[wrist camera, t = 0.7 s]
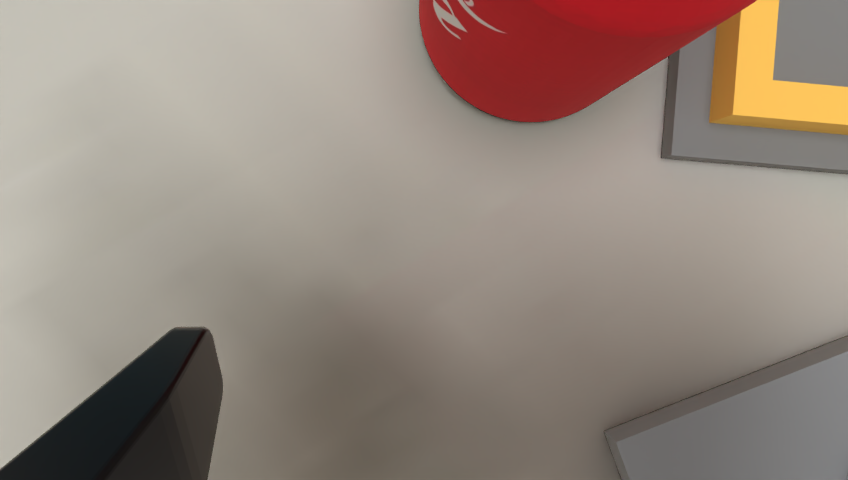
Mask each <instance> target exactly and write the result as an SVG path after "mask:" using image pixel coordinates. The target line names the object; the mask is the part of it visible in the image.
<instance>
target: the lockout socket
mask: <svg viewBox="0 0 848 480" xmlns="http://www.w3.org/2000/svg"><path fill="white" fill-rule="evenodd" d="M661 158H667V159H679V160H691V161H702V162H714V163H726V164H737V165H749V166H761V167H772V168H784V169H796V170H807V171H819V172H831V173H842V174H848V0H757V1H755V2H754V3H753V4H751V5H749V6H748V7H746V8H745V9H743V10H742V11H740V12H738V13H737V14H735V15H734V16H732V17H730V18H729V19H727V20H726V21H724V22H722V23H721V24H719V25H718V26H716V27H714V28H713V29H711V30H710V31H708V32H706V33H705V34H703V35H701V36H700V37H698V38H697V39H695V40H693V41H692V42H690V43H689V44H687V45H685V46H684V47H682V48H681V49H679V50H677V51H676V52H674V53H673V54H671V55H669V68H668V80H667V93H666V105H665V118H664V130H663V143H662V155H661Z"/></svg>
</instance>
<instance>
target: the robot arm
mask: <svg viewBox="0 0 848 480" xmlns="http://www.w3.org/2000/svg"><path fill="white" fill-rule="evenodd" d="M222 392H223V382H222V375H221V370H220V366H219V362H218V357H217V353H216V349H215V344H214V340H213V336H212V334H211V332H210V330H209V329H207V328H206V327H176V328H173V329H172V330H170V331H169V332H167V333H166V334H165V335H164V336H163V337H161V338H160V339H159V340H158V341H156V342H155V343H154V344H153V345H152V346H150V347H149V348H148V349H147V350H145V351H144V352H143V353H142V354H141V355H139V356H138V357H137V358H136V359H134V360H133V361H132V362H131V363H130V364H128V365H127V366H126V367H125V368H123V369H122V370H121V371H120V372H119V373H117V374H116V375H115V376H114V377H112V378H111V379H110V380H109V381H108V382H106V383H105V384H104V385H103V386H101V387H100V388H99V389H98V390H97V391H95V392H94V393H93V394H92V395H90V396H89V397H88V398H87V399H86V400H84V401H83V402H82V403H81V404H79V405H78V406H77V407H76V408H74V409H73V410H72V411H71V412H70V413H68V414H67V415H66V416H65V417H63V418H62V419H61V420H60V421H59V422H57V423H56V424H55V425H54V426H52V427H51V428H50V429H49V430H48V431H46V432H45V433H44V434H43V435H41V436H40V437H39V438H38V439H37V440H35V441H34V442H33V443H32V444H30V445H29V446H28V447H27V448H26V449H24V450H23V451H22V452H21V453H19V454H18V455H17V456H16V457H15V458H13V459H12V460H11V461H10V462H8V463H7V464H6V465H5V466H4V467H2V468H1V469H0V480H207V479H208V473H209V468H210V462H211V456H212V451H213V445H214V440H215V434H216V428H217V423H218V417H219V412H220V406H221V400H222Z"/></svg>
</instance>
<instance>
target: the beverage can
mask: <svg viewBox="0 0 848 480" xmlns="http://www.w3.org/2000/svg"><path fill="white" fill-rule="evenodd" d="M755 1H757V0H419V18H420V26H421V31H422V36H423V40H424V43H425V46H426V49H427V51H428V54H429V56H430V58H431V60H432V62H433V64H434V66H435V68H436V69H437V71H438V72H439V74H440V75H441V76H442V78H443V79H444V80H445V81H446V83H447V84H448V85H449V86H450V87H451V88H452V89H453V90H454V91H455V92H456V93H457V94H458V95H459V96H461V97H462V98H463V99H464V100H466V101H467V102H469V103H470V104H472V105H473V106H475V107H476V108H478V109H480V110H482V111H484V112H486V113H489V114H491V115H494V116H497V117H500V118H504V119H508V120H513V121H519V122H542V121H549V120H555V119H559V118H562V117H566V116H568V115H571V114H573V113H576V112H578V111H580V110H582V109H584V108H586V107H587V106H589V105H591V104H592V103H594V102H595V101H597V100H599V99H600V98H602V97H603V96H605V95H607V94H608V93H610V92H611V91H613V90H615V89H616V88H618V87H619V86H621V85H623V84H624V83H626V82H628V81H629V80H631V79H632V78H634V77H636V76H637V75H639V74H640V73H642V72H644V71H645V70H647V69H648V68H650V67H652V66H653V65H655V64H656V63H658V62H660V61H661V60H663V59H665V58H666V57H668V56H669V55H671V54H673V53H674V52H676V51H677V50H679V49H681V48H682V47H684V46H685V45H687V44H689V43H690V42H692V41H693V40H695V39H697V38H698V37H700V36H701V35H703V34H705V33H706V32H708V31H710V30H711V29H713V28H714V27H716V26H718V25H719V24H721V23H722V22H724V21H726V20H727V19H729V18H730V17H732V16H734V15H735V14H737V13H738V12H740V11H742V10H743V9H745V8H746V7H748V6H749V5H751V4H753V3H754V2H755Z"/></svg>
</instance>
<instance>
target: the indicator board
mask: <svg viewBox="0 0 848 480" xmlns="http://www.w3.org/2000/svg"><path fill="white" fill-rule="evenodd" d="M604 433H605V436H606V439H607V441H608V444H609V447H610V450H611V452H612V455H613V458H614V460H615V463H616V466H617V468H618V471H619V474H620V477H621V479H622V480H848V336H846V337H843V338H841V339H838V340H836V341H833V342H830V343H828V344H825V345H823V346H820V347H818V348H815V349H813V350H810V351H807V352H805V353H802V354H800V355H797V356H795V357H792V358H790V359H787V360H784V361H782V362H779V363H777V364H774V365H772V366H769V367H767V368H764V369H761V370H759V371H756V372H754V373H751V374H749V375H746V376H744V377H741V378H739V379H736V380H733V381H731V382H728V383H726V384H723V385H721V386H718V387H716V388H713V389H710V390H708V391H705V392H703V393H700V394H698V395H695V396H693V397H690V398H687V399H685V400H682V401H680V402H677V403H675V404H672V405H670V406H667V407H664V408H662V409H659V410H657V411H654V412H652V413H649V414H647V415H644V416H641V417H639V418H636V419H634V420H631V421H629V422H626V423H624V424H621V425H618V426H616V427H613V428H611V429H608V430H606V431H604Z"/></svg>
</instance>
